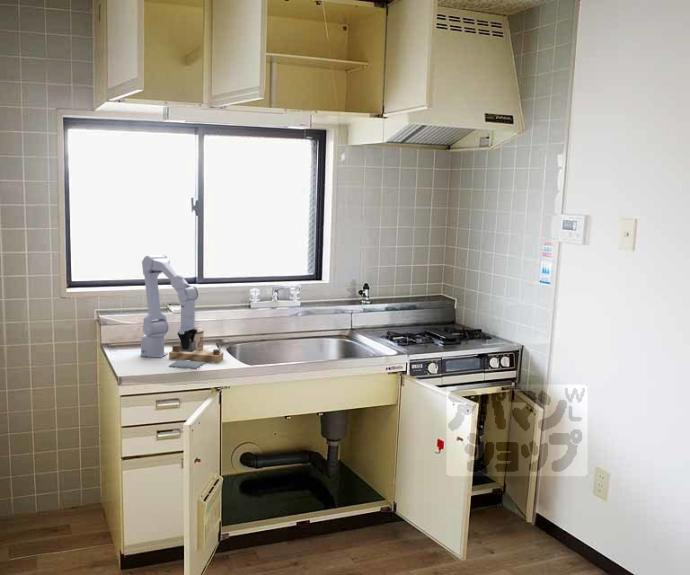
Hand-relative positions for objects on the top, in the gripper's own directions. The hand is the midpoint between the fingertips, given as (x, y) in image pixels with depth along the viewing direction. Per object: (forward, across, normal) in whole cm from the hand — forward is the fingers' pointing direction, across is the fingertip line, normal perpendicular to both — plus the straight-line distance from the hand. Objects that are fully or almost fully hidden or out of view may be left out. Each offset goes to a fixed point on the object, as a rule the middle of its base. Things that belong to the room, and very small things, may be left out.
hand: (187, 347), depth 301 cm
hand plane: (+8, +11, 0) cm, 13 cm away
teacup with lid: (+8, +30, +8) cm, 32 cm away
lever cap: (+1, 0, 0) cm, 1 cm away
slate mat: (+8, 0, 0) cm, 8 cm away
